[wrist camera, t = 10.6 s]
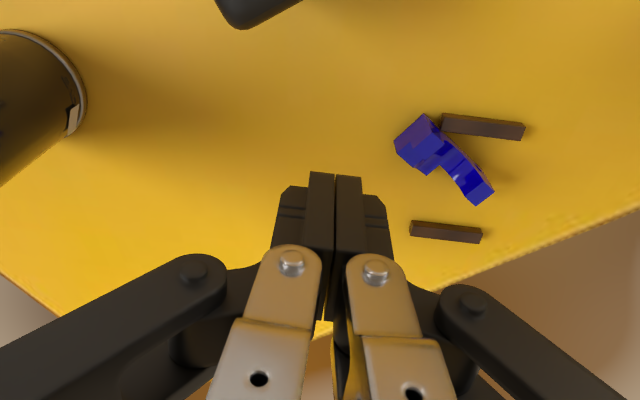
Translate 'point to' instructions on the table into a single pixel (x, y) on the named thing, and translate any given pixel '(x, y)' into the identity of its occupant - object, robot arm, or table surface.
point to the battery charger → (251, 11)
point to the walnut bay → (471, 128)
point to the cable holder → (442, 158)
